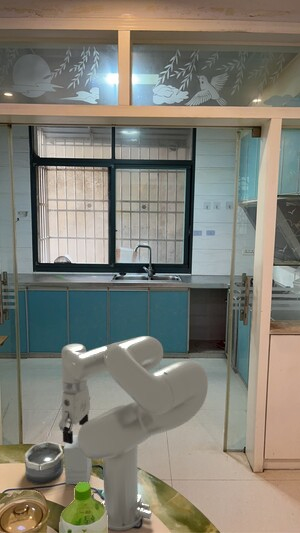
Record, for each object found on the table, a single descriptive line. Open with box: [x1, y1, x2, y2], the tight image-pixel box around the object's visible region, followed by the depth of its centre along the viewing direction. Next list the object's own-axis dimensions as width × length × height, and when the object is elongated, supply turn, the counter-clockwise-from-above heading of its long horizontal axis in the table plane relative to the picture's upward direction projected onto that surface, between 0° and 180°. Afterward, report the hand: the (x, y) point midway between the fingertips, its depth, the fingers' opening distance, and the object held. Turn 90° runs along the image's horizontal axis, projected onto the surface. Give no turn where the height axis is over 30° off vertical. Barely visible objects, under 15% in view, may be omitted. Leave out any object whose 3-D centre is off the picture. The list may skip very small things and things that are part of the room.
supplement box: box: [62, 434, 93, 485], centre depth 118 cm, size 7×7×13 cm
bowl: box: [24, 441, 64, 486], centre depth 121 cm, size 12×12×7 cm
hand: (76, 433), depth 117 cm, fingers open, 9 cm apart
